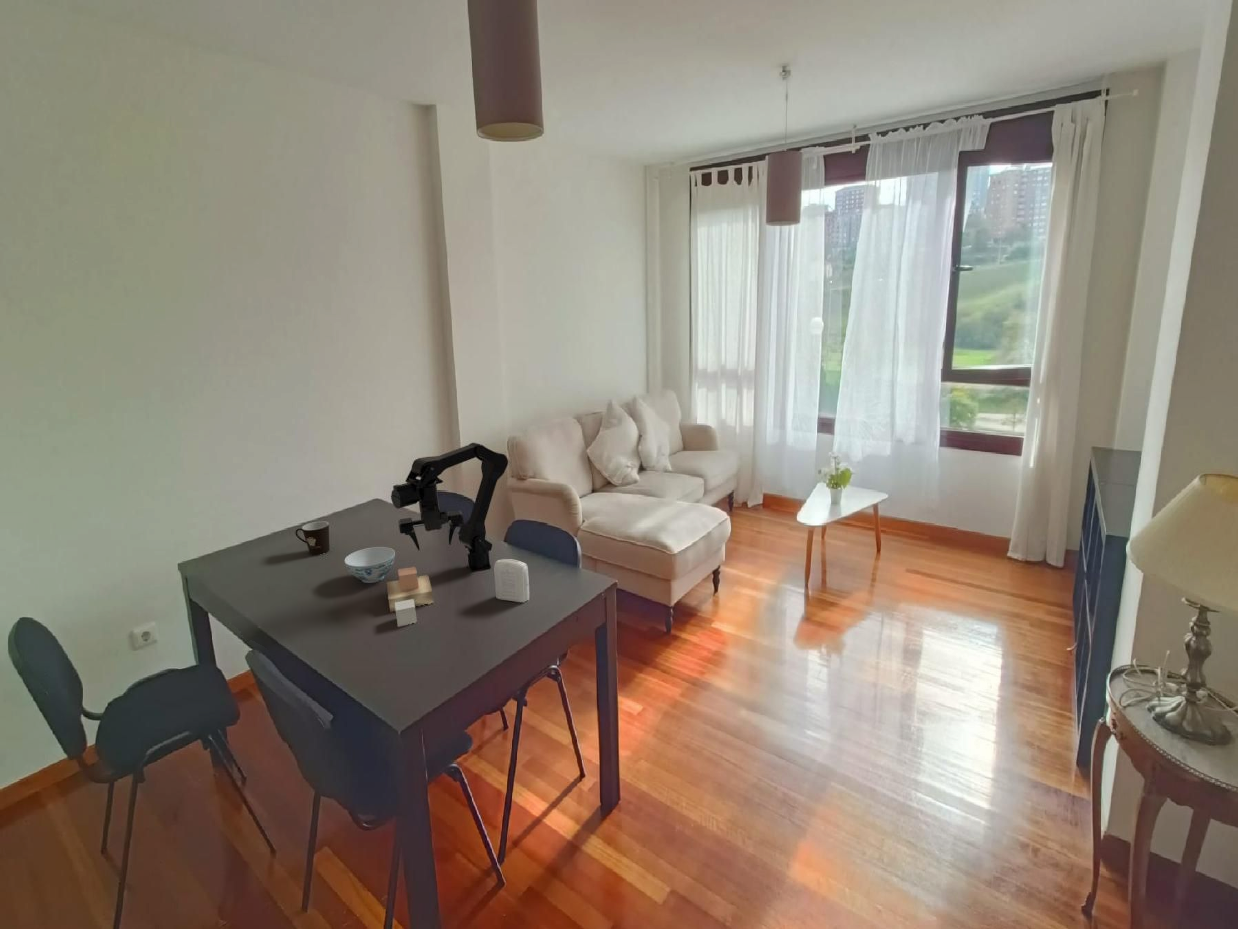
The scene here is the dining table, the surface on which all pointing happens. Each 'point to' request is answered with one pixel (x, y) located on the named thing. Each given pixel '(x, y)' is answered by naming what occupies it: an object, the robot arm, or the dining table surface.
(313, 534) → the coffee mug
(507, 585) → the white rounded block
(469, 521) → the robot arm
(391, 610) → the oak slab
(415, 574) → the terracotta cube
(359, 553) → the chinaware
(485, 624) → the dining table surface
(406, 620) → the grey cube
